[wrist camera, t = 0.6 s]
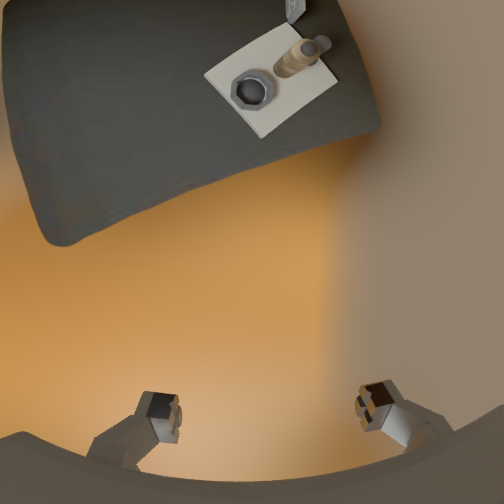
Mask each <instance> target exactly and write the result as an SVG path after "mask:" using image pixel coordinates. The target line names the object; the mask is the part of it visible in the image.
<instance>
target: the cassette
mask: <svg viewBox="0 0 504 504" xmlns="http://www.w3.org/2000/svg"><path fill="white" fill-rule="evenodd" d="M305 10H306V5H305V0H286V17H287V18H288V24H293V23H294V22H295V21H296V20H297V19H298V18H299V17H300V16H301V15H302V14H303V12H304V11H305Z"/></svg>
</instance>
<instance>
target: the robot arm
mask: <svg viewBox="0 0 504 504" xmlns="http://www.w3.org/2000/svg"><path fill="white" fill-rule="evenodd" d="M359 393H360V395H359V396H358V397H357V398H356V401H355V410H356V414H357V416H359V417H360V418H362V420H361V425H362V427H363V430H364V432H369V431H374V430H378V429H381V430H382V431H383V432H385V433H386V434H388V435H389V436H390V437H392V438H393V439H395V440H396V441H397V442H399V443H400V444H402V445H403V446H405V447H406V449H405V450H404V452H403V453H402V454H400V455H398V456H395V457H392V458H388V459H385V460H382V461H379V462H375V463H372V464H368V465H364V466H360V467H356V468H352V469H348V470H343V471H339V472H334V473H329V474H324V475H317V476H311V477H304V478H295V479H285V480H273V481H254V482H225V481H221V482H220V481H204V480H193V479H183V478H175V477H168V476H161V475H155V474H150V473H145V472H141V471H140V469H139V468H138V466H137V465H136V464H137V463H138V462H139V461H140V460H141V459H142V458H143V457H145V456H146V454H148V453H149V452H150V451H151V450H152V449H153V448H154V447H155V446H156V445H157V444H158V443H159V442H164V443H173V444H177V442H178V438H179V430H178V428H179V427H180V426H181V423H182V410H181V407H180V406H179V405H178V403H179V398H178V395H175V394H166V393H158V392H149V391H144V392H143V394H142V396H141V399H140V401H139V404H138V406H137V409H136V411H135V414H134V415H130V416H128V417H127V418H126V419H124V420H122V421H121V422H119V423H118V424H116V425H114V426H113V427H111V428H110V429H108V430H106V431H105V432H103V433H102V434H100V435H99V436H97V437H95V438H94V440H93V442H92V445H91V447H90V449H89V451H88V453H87V456H86V457H85V456H82V455H79V454H76V453H74V452H71V451H68V450H66V449H63V448H61V447H58V446H56V445H54V444H51V443H49V442H47V441H45V440H42V439H40V438H38V437H36V436H34V435H32V434H30V433H28V432H25V431H21V432H17V433H15V434H12V435H9V436H6V437H4V438H1V439H0V504H504V405H500V406H498V407H496V408H495V409H493V410H492V411H490V412H488V413H487V414H485V415H483V416H482V417H480V418H478V419H477V420H475V421H473V422H471V423H470V424H468V425H466V426H464V427H462V428H460V429H458V430H457V431H453V429H452V428H451V426H450V425H449V423H448V422H447V421H446V419H445V418H444V416H442V415H440V414H437V413H435V412H433V411H431V410H428V409H426V408H424V407H422V406H420V405H417V404H415V403H413V402H411V401H409V400H404V398H403V397H402V395H401V394H400V392H399V391H398V389H397V388H396V386H395V385H394V383H393V382H392V380H390V379H389V380H385V381H381V382H376V383H371V384H366V385H362V386H361V387H360V389H359Z"/></svg>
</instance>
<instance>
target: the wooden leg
mask: <svg viewBox="0 0 504 504" xmlns="http://www.w3.org/2000/svg"><path fill="white" fill-rule="evenodd" d="M319 57H320V48H319V46H318V45H317V44H316V43H315V42H314V41H312V40H310V39H300V40H298V41H297V42H296V43H295V44H294V45H293V46H292V47H291V48H290V49H289V50H288V51H287V52H286V53H285V54H284V55H283V56H282V57H281V58H280V59H278V60H277V61H276V62H275V64H274V66H273V71H274V73H275V74H276V75H277V76H278V77H280V78H283V79H287V78H290V77H291V76H293V75H294V74H296V73H297V72H299V71H300V70H302V69H303V68H305V67H306V66H308V65H309V64H311V63H312V62H314V61H315V60H317V59H318V58H319Z"/></svg>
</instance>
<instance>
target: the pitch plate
mask: <svg viewBox="0 0 504 504" xmlns="http://www.w3.org/2000/svg"><path fill="white" fill-rule="evenodd" d="M300 39H302V37H301V36H300V35H299V34H298V33H297V32H296V31H295V30H294V29H293V28H292V27H291V26H290V25H289V24H288V23H287V22H286V23H284V24H282V25H281V26H279V27H277V28H275V29H273V30H271V31H270V32H268V33H266V34H264V35H263V36H261V37H259V38H258V39H256V40H254V41H253V42H251V43H249V44H248V45H246V46H245V47H243V48H241V49H240V50H238V51H237V52H235V53H234V54H232V55H231V56H229V57H228V58H226V59H225V60H223V61H222V62H221V63H219V64H218V65H216V66H215V67H214V68H212V69H211V70H209V71H208V72H207V73H205V74H204V77H205V78H206V79H207V80H208V81H209V82H210V83H211V84H212V85H213V86H214V87H215V88H216V89H217V90H218V91H219V92H220V94H221V95H222V96H223V97H224V98H225V99H226V100H227V101H228V102H229V103H230V104H231V105H232V106H233V108H234V109H235V110H236V111H237V112H238V113H239V114H240V115H241V116H242V118H243V119H244V120H245V121H246V122H247V123H248V124H249V125H250V127H251V128H252V129H253V130H254V131H255V132H256V134H257V135H258V136H259V137H260V138H263V137H265V136H266V135H267V134H268V133H270V132H271V131H272V130H273V129H275V128H276V127H277V126H278V125H280V124H281V123H282V122H283V121H285V120H286V119H287V118H289V117H290V116H291V115H293V114H294V113H295V112H297V111H298V110H299V109H301V108H302V107H303V106H305V105H306V104H307V103H309V102H310V101H311V100H313V99H314V98H316V97H317V96H318V95H320V94H321V93H323V92H324V91H325V90H327V89H328V88H330V87H331V86H333V85H334V84H335V83H337V82H338V81H337V80H336V78H335V77H334V76H333V74H332V73H331V72H330V71H329V69H328V68H327V67H326V65H325V64H324V63H323V62H322V61H321V59H320V58H318V59H317V60H315V61H314V62H312V63H311V64H309V65H308V66H306V67H305V68H303V69H302V70H300V71H299V72H297V73H296V74H294V75H293V76H291V77H290V78H287V79H283V78H280V77H278V76H277V75H276V74H275V73H274V71H273V66H274V64H275V62H276V61H277V60H278V59H280V58H281V57H282V56H283V55H284V54H285V53H286V52H287V51H288V50H289V49H290V48H291V47H292V46H293V45H294V44H295V43H296V42H297V41H298V40H300ZM312 41H314V42H315V43H316V44H317V45H318V46H319V48H320V55H321V54H322V53H324V52H325V51H327V50H328V49H330V48H331V46H332V43H331V41H330V39H329V38H328V37H326V36H324V35H319V36H317V37H316V38H314V39H313V40H312Z"/></svg>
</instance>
